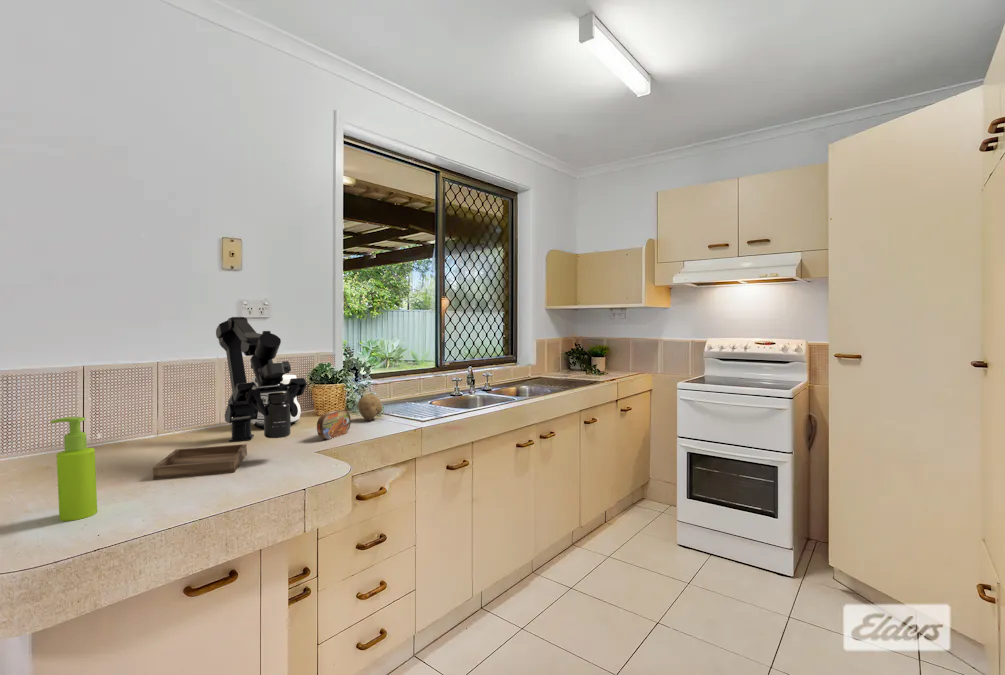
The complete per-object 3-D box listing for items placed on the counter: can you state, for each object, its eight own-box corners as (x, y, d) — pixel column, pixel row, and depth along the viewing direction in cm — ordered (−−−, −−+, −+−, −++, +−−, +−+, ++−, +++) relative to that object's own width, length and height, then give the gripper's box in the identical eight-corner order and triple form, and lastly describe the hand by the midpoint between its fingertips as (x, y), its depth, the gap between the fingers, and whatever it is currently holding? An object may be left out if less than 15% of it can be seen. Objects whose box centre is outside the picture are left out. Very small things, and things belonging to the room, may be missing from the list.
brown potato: (372, 416, 200) (371, 392, 200) (387, 419, 195) (386, 393, 194) (353, 420, 193) (353, 395, 192) (368, 423, 188) (368, 397, 187)
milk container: (250, 432, 175) (248, 381, 174) (249, 423, 190) (248, 375, 189) (303, 426, 183) (302, 377, 182) (298, 418, 198) (297, 373, 197)
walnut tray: (176, 459, 141) (175, 449, 141) (247, 454, 146) (246, 444, 146) (153, 479, 124) (152, 467, 124) (234, 472, 129) (234, 460, 129)
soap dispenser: (69, 510, 104) (64, 415, 103) (104, 509, 105) (100, 414, 104) (45, 521, 98) (41, 421, 98) (83, 520, 99) (79, 420, 98)
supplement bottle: (278, 439, 136) (277, 396, 136) (258, 437, 139) (257, 394, 138) (296, 434, 143) (295, 392, 142) (277, 432, 145) (276, 391, 145)
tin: (323, 442, 160) (322, 416, 160) (315, 441, 161) (314, 415, 161) (351, 431, 175) (351, 407, 174) (344, 431, 176) (343, 407, 175)
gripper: (235, 354, 136) (249, 399, 129) (303, 350, 149) (320, 391, 142) (227, 380, 142) (240, 424, 135) (294, 374, 155) (309, 415, 148)
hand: (279, 413), depth 140 cm, fingers closed on supplement bottle, 7 cm apart
